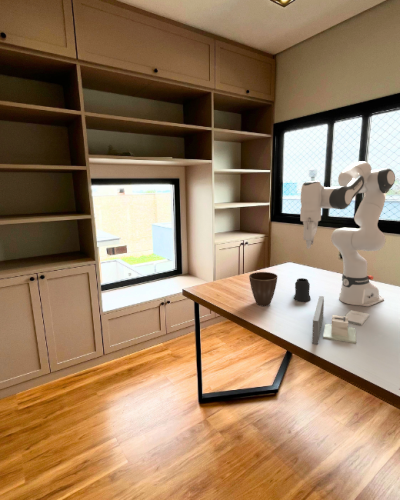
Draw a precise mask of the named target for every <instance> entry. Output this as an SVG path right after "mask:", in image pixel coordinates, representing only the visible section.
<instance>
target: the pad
mask: <svg viewBox="0 0 400 500" xmlns="http://www.w3.org/2000/svg"><path fill="white" fill-rule="evenodd" d="M331 330H332V324H331V323H330V324H329V323H328V324H327V323H325V324H324V329H323V335H322V338H323V339H328V340H332V341H340V342H345V343H351V344H356V343H357V336H356V328H355V327H350V326H348V335H347V336H341V335H334V334H331Z"/></svg>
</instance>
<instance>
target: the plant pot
mask: <svg viewBox="0 0 400 500" xmlns="http://www.w3.org/2000/svg"><path fill="white" fill-rule="evenodd" d="M248 277H249V284H250V289H251V292H252V295H253V298H254V302H255V304H256V305H257V306H260V307H268V306H270V305H271V303H272V301H273V299H274V294H275V292H276V288H277V287H276V286H277V284H278V283H277V282H278V275H277V274H276V273H274V272H268V271H267V272H266V271H259V272H258V271H257V272H252V273H250V274H249V275H248Z"/></svg>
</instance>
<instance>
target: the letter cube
mask: <svg viewBox="0 0 400 500" xmlns="http://www.w3.org/2000/svg"><path fill="white" fill-rule="evenodd" d="M331 316H332V317H331V325H332V330H331V334H334V335H341V336H347V335H348V327H349V323H348V317H345V315H344V316H343V315H336V314H335V315H334V314H332V315H331Z"/></svg>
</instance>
